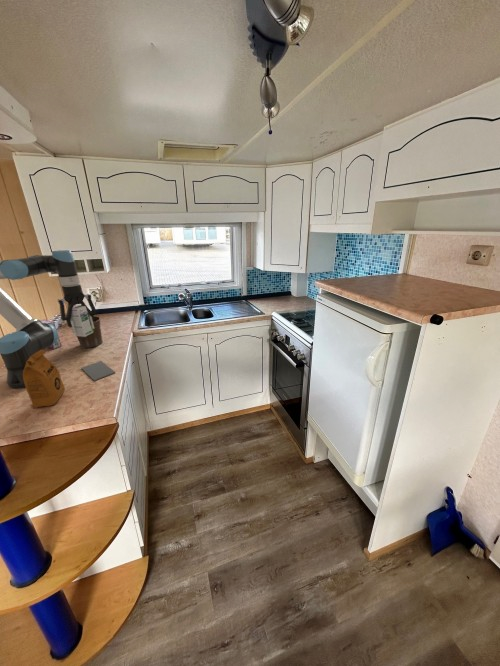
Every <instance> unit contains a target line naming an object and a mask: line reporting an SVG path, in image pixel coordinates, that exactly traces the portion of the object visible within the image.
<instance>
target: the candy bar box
mask: <svg viewBox="0 0 500 666" xmlns="http://www.w3.org/2000/svg"><path fill="white" fill-rule="evenodd" d="M39 320H40V321H41V322H42V323H48V324H51V325H53V326H54V327H55V329H56V330H57V328H56V324H55V321H53V320H48V319H39ZM57 336H58V339H57V341H56V342H55V343H54V344H52V345H51V346H50V347H48V348H50V349H51V350H56V349H58V348H61V347H62V343H61V340H60V337H59V334H58V335H57Z"/></svg>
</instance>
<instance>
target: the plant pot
mask: <svg viewBox="0 0 500 666" xmlns="http://www.w3.org/2000/svg"><path fill="white" fill-rule="evenodd" d="M94 320H95V321H94V322H93V325H94V329H93V331H94V332H93V333H91V334H89V335H87V336H86V337H82V336H76V338H77V340H78V342H79V345H80V348H83V349H89V348H90V349H91V348H95V347H98V346H100V345H102V343H104V342H103V341H104V340H103V336H102V330H101V317H100V316H97V315H94Z"/></svg>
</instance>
